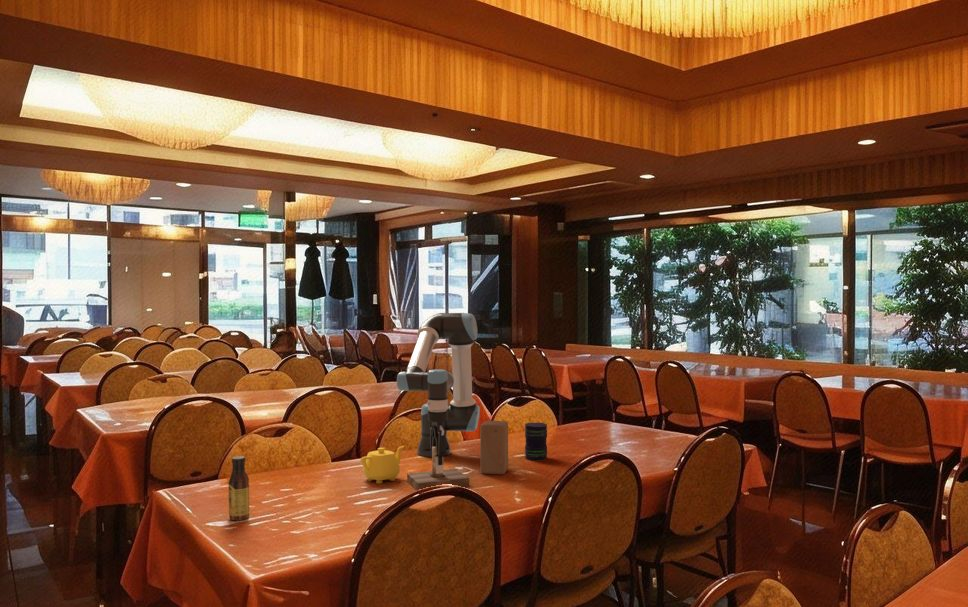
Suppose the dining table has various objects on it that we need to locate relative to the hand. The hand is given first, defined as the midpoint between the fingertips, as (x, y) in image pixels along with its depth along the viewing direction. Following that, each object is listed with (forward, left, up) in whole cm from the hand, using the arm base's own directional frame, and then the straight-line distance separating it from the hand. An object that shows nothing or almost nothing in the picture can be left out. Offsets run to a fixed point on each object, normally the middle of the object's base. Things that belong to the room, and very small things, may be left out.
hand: (437, 471), depth 263 cm
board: (0, 0, -5) cm, 5 cm away
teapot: (-14, -18, -5) cm, 23 cm away
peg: (0, 0, -5) cm, 5 cm away
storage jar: (-24, +53, -5) cm, 58 cm away
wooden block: (-9, +27, -5) cm, 29 cm away
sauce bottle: (+16, -72, -5) cm, 74 cm away
